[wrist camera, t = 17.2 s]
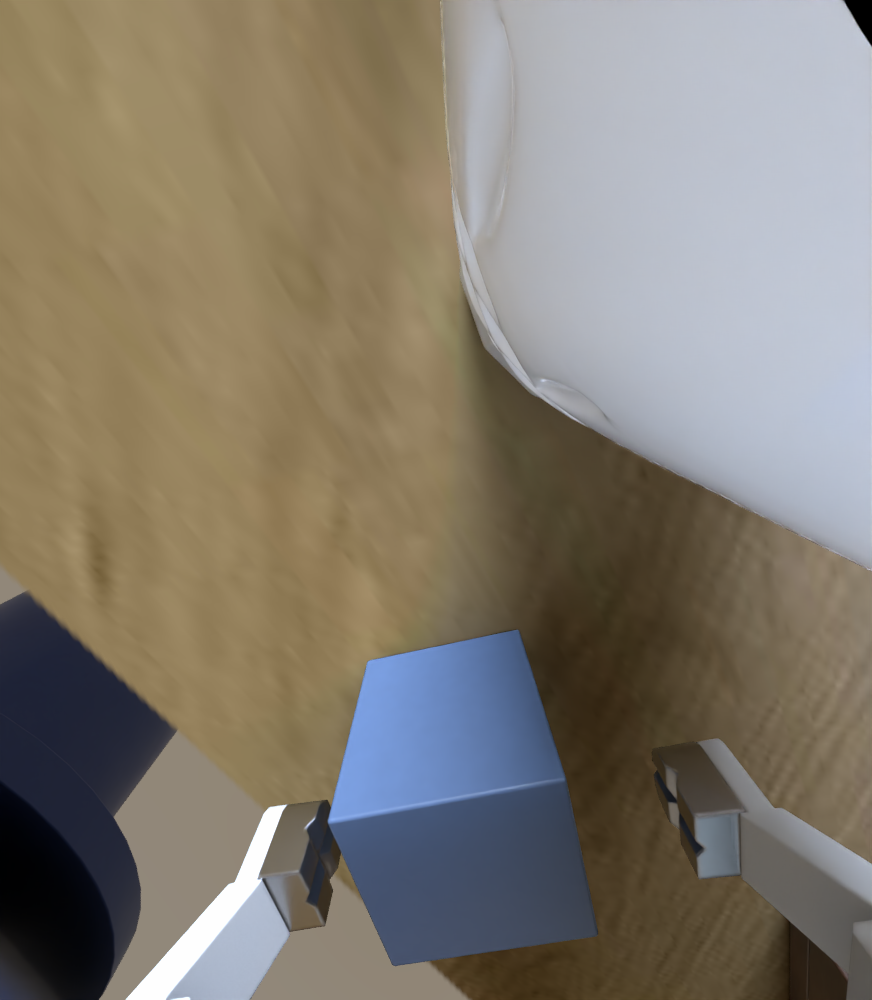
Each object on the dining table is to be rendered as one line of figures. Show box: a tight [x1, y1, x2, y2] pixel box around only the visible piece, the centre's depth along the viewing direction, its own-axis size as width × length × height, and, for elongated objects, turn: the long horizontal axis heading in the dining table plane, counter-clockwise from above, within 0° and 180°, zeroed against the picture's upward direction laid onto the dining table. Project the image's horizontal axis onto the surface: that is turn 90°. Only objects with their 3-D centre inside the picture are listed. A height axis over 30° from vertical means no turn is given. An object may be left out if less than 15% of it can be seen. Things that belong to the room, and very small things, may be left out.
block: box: [328, 630, 598, 966], centre depth 10 cm, size 4×4×4 cm
